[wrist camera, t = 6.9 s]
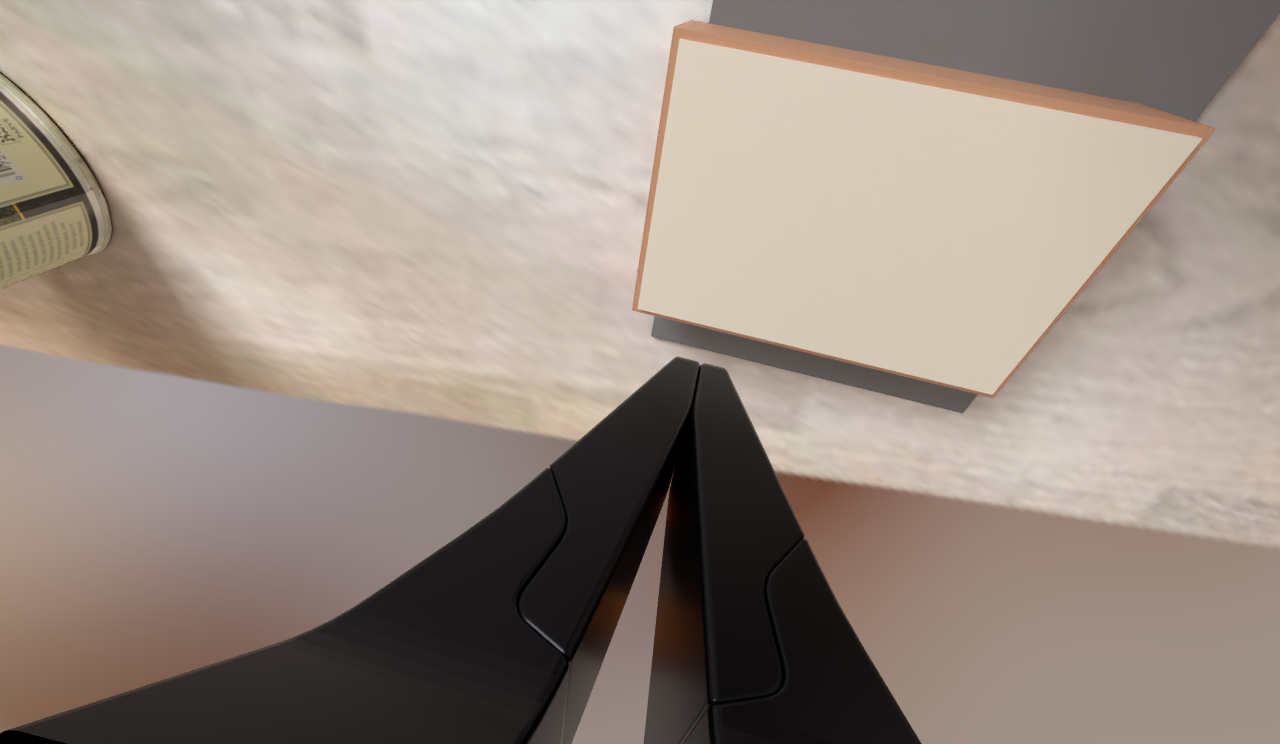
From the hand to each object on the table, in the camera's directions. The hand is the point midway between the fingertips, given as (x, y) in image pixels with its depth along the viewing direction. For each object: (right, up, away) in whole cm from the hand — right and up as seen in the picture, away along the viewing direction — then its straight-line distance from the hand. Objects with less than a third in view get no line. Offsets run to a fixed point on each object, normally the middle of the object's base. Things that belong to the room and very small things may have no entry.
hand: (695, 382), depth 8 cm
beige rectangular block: (0, +6, +7) cm, 9 cm away
